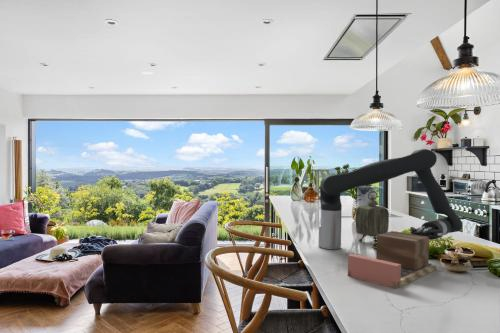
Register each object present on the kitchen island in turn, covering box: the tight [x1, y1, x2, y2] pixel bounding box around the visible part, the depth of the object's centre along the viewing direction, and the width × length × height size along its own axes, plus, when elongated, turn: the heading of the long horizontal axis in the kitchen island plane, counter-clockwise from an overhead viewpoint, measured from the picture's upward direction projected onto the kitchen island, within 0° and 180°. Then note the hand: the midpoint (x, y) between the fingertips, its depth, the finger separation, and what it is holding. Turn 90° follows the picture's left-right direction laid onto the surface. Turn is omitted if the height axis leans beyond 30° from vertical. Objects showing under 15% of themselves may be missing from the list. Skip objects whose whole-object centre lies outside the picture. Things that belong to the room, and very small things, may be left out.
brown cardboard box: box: [375, 230, 430, 270], centre depth 137 cm, size 12×14×10 cm
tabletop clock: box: [355, 191, 390, 243], centre depth 183 cm, size 14×9×25 cm, turn 123°
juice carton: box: [356, 185, 377, 209], centre depth 210 cm, size 9×10×27 cm
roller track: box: [347, 253, 437, 289], centre depth 133 cm, size 32×17×7 cm, turn 133°
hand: (416, 235), depth 145 cm, fingers closed
